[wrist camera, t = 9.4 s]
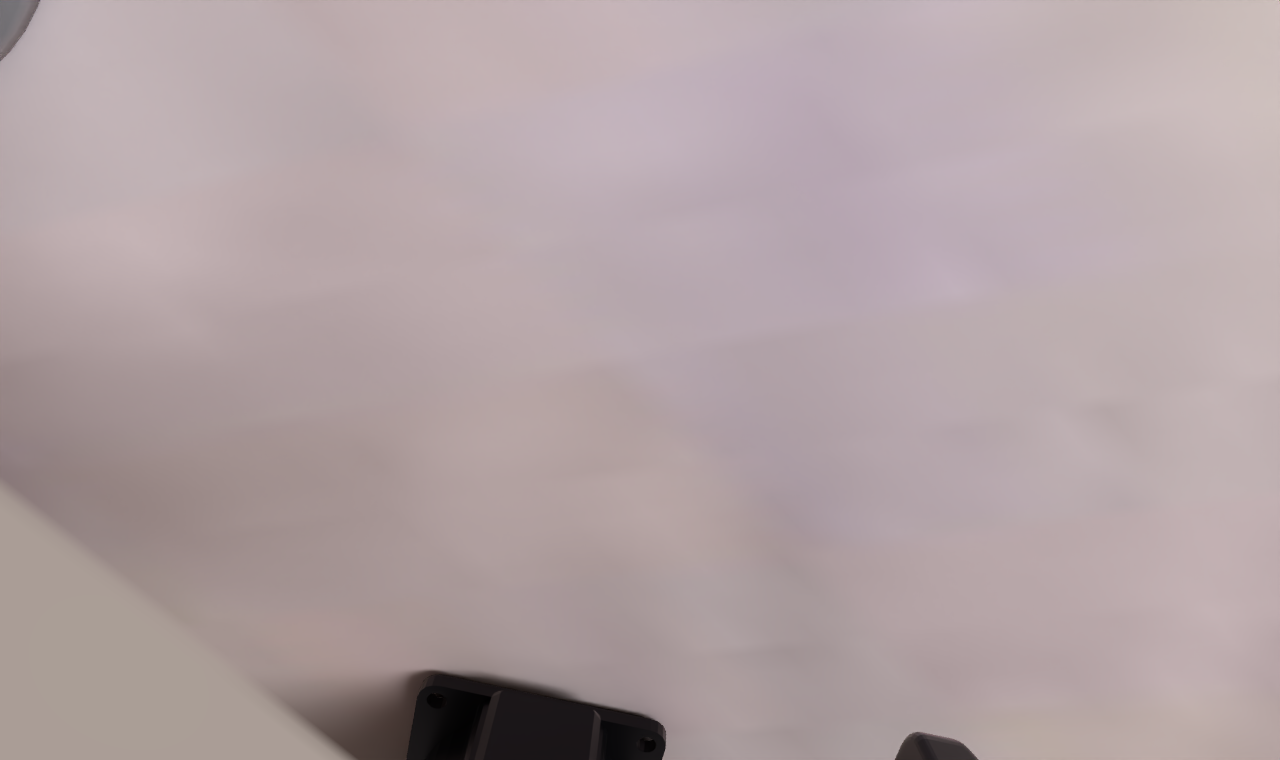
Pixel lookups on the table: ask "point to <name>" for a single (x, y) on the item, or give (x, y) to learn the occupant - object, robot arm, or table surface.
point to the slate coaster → (14, 22)
